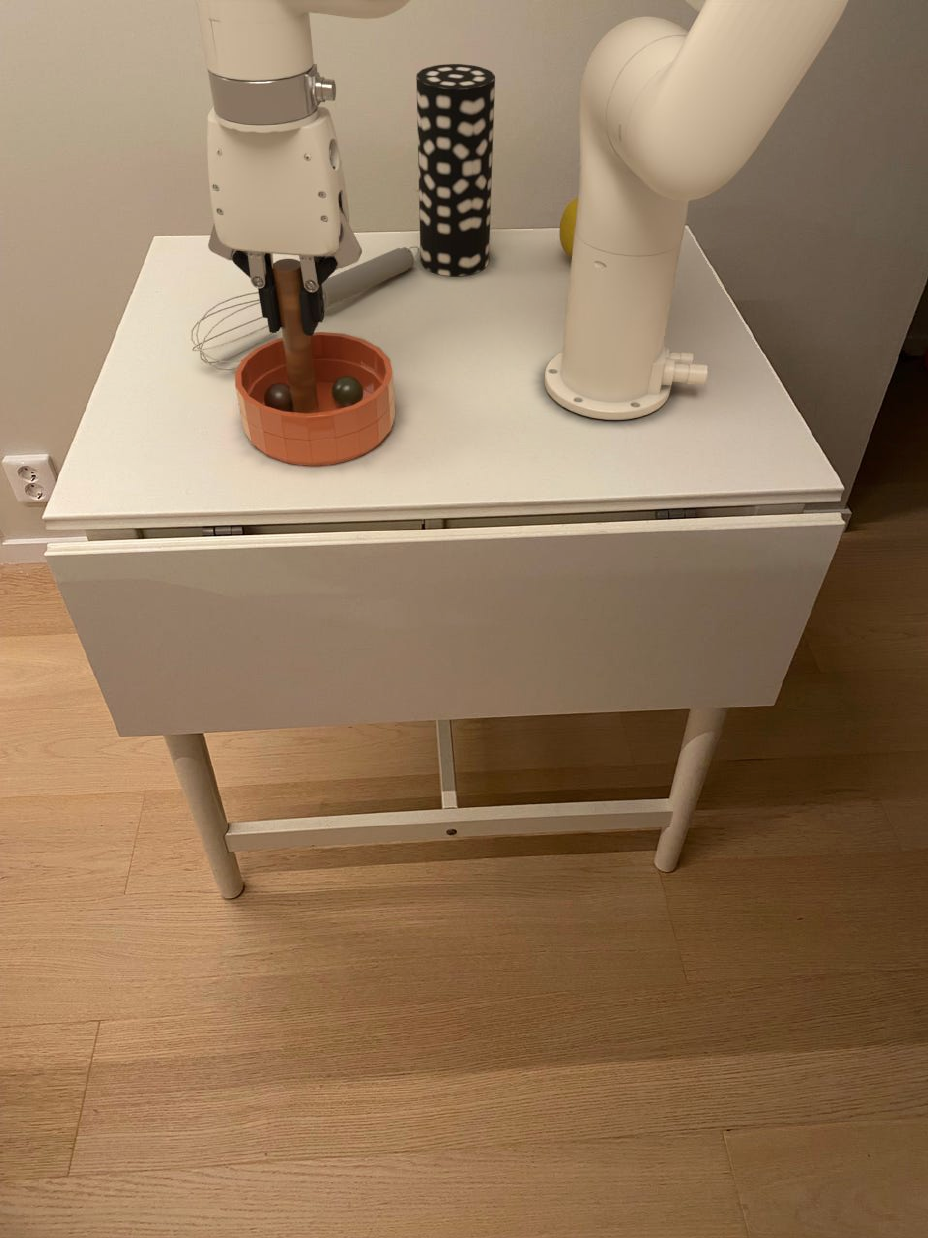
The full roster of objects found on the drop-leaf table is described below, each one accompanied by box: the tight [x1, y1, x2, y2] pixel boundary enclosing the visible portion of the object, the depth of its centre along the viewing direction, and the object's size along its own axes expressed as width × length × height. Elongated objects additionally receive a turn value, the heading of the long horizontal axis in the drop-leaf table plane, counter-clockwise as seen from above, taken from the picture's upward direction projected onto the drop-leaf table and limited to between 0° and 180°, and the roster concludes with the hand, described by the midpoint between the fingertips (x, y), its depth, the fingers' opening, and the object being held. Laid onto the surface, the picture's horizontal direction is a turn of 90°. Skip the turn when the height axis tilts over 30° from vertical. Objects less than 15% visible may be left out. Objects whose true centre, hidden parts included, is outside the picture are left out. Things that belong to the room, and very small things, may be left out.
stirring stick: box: [273, 258, 319, 413], centre depth 81 cm, size 2×2×14 cm
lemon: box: [558, 197, 578, 258], centre depth 109 cm, size 6×6×8 cm
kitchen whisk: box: [190, 246, 420, 372], centre depth 100 cm, size 6×34×6 cm, turn 143°
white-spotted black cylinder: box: [415, 63, 496, 277], centre depth 104 cm, size 8×8×20 cm
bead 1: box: [264, 383, 293, 412], centre depth 87 cm, size 3×3×3 cm
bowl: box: [234, 331, 396, 467], centre depth 86 cm, size 14×14×6 cm
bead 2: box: [332, 376, 363, 408], centre depth 88 cm, size 3×3×3 cm
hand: (295, 324), depth 80 cm, fingers closed on stirring stick, 2 cm apart
